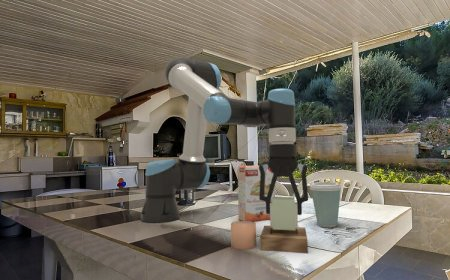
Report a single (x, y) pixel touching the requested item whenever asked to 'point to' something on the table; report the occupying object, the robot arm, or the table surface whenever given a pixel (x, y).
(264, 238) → the walnut base
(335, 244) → the table surface
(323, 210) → the disposable coffee cup
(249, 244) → the peach block
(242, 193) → the cracker box
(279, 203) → the sage block
